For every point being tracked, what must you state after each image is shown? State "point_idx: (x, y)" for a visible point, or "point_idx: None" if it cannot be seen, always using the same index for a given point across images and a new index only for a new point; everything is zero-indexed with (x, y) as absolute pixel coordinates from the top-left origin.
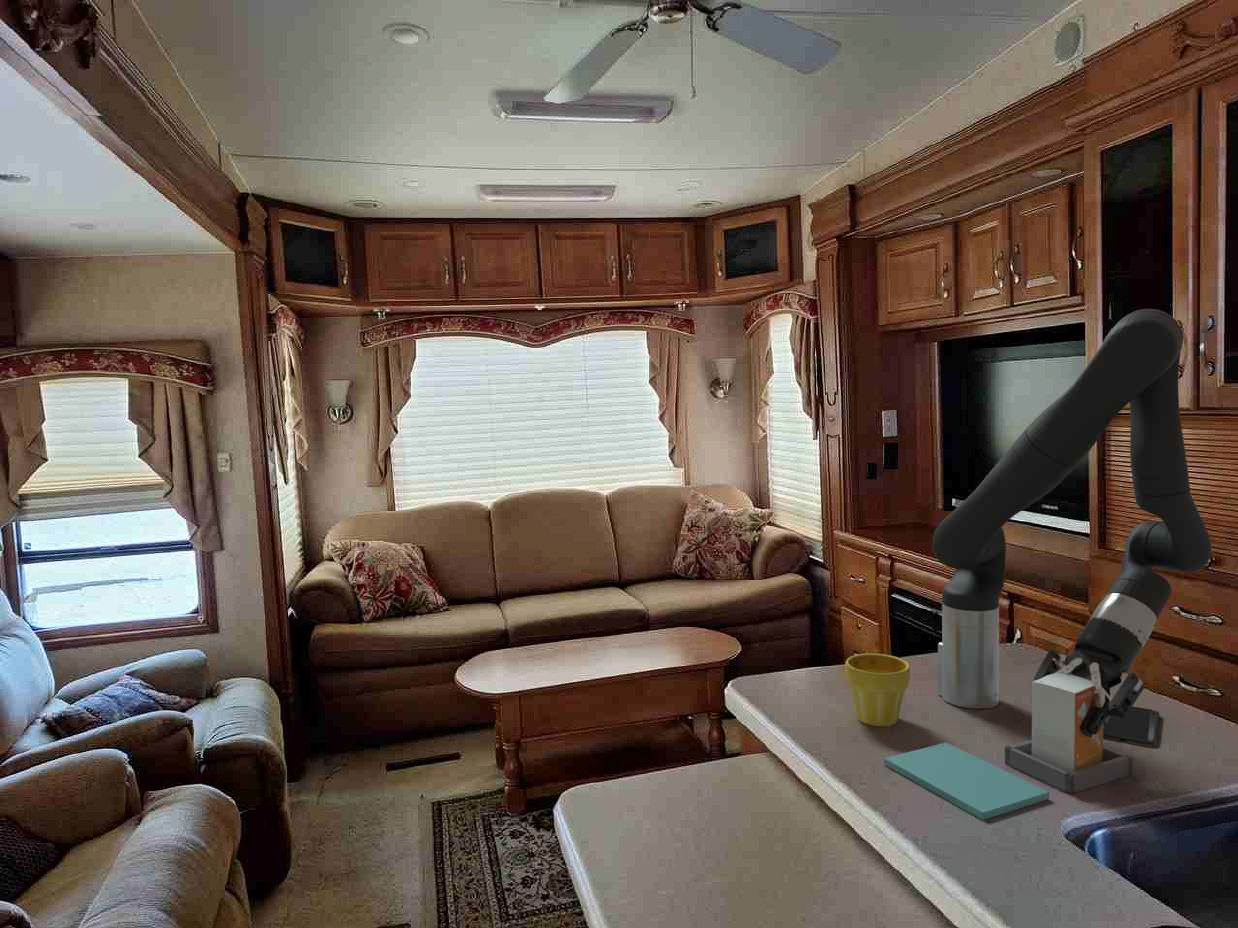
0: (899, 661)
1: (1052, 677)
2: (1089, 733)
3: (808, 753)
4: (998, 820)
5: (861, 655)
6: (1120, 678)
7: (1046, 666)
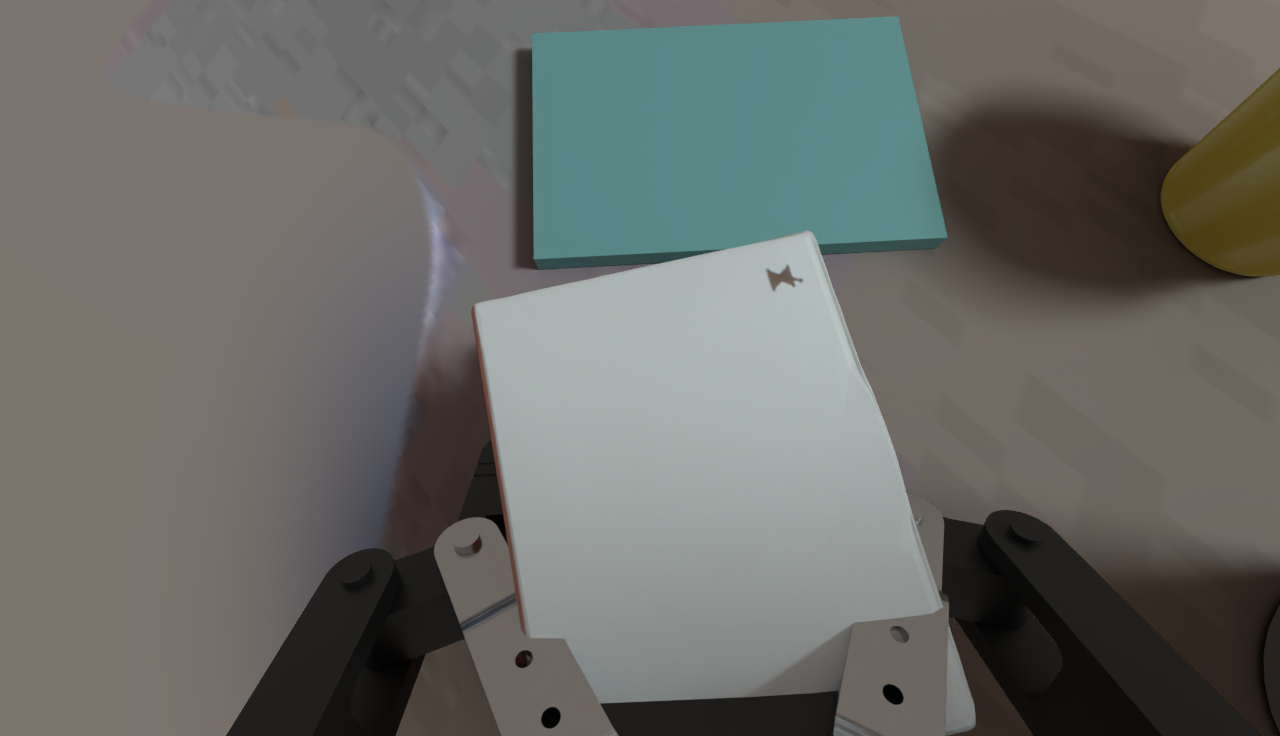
0: None
1: (826, 441)
2: None
3: None
4: (518, 80)
5: None
6: None
7: (1118, 662)
